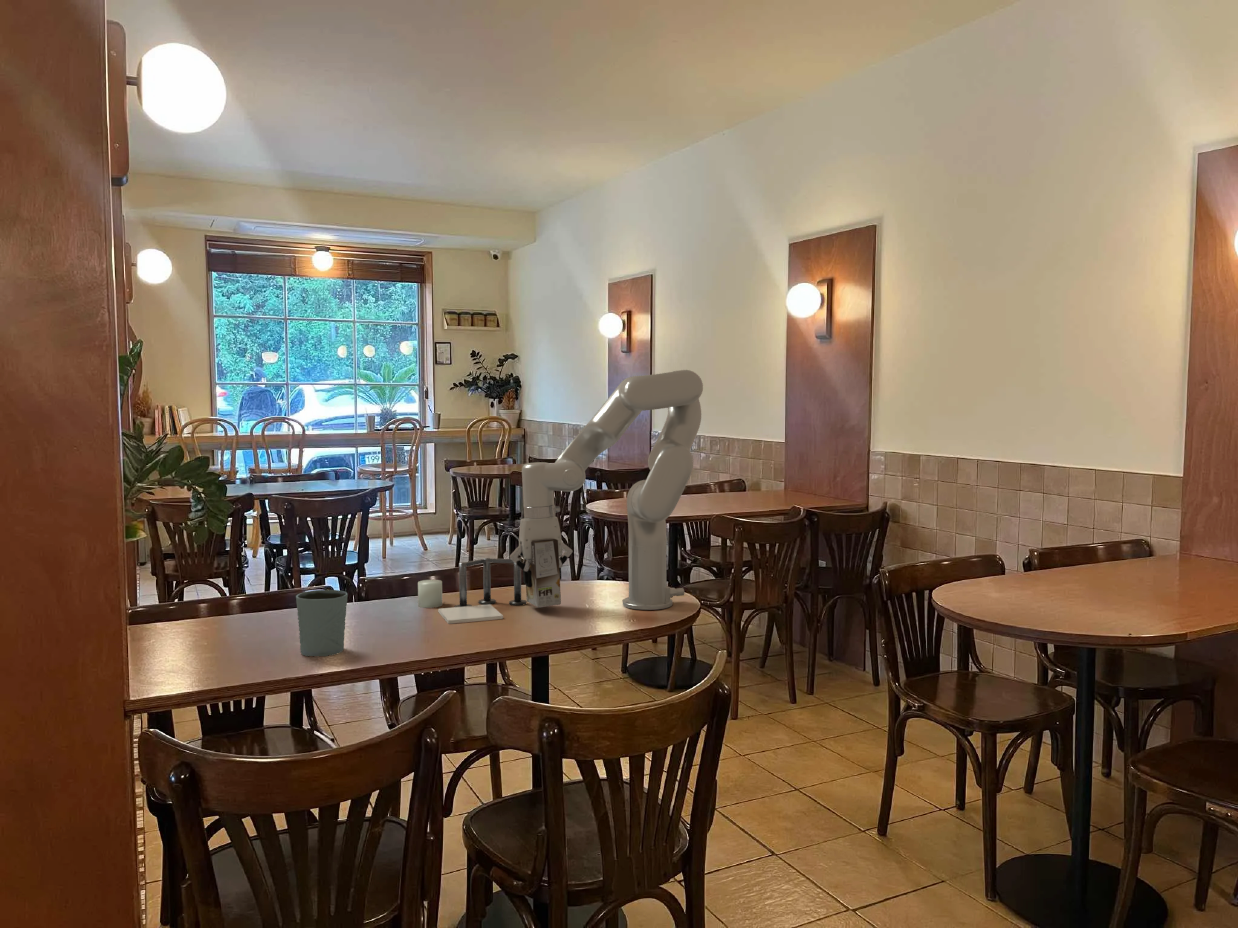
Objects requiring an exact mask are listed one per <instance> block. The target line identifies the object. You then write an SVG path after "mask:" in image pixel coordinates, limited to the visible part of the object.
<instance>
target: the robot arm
mask: <svg viewBox="0 0 1238 928" xmlns="http://www.w3.org/2000/svg"><path fill="white" fill-rule="evenodd" d="M703 390H704V383H703V381H702V378H701V377H700V376H699V374H697V373H696V372H695V371H692V370H690V369H689V370H688V369H681V370H672V371H669V372H662V373H655V374H644V375H635V376H634V375H633V376H629V377H627V378H624V379H623V380H622V381H621V382H620V383H619V384H618V385H617V387H615V389H614V390H613V392H612V393H611V394H610V395H609V397H608V398H607V399H606V400H605V402H604V403H603V404H602V405H601V407H600V408H598V410H597V412H596V413H595V414H594V415H593V416H592V418H591V419H590V420H589V421H588V422H587V423H586V425H585V426H584V427H583V428H582V429H581V431H580V432H579V433H578V434H577V435H576V436H575V437H574V438H573V440H572V441H571V442H570V443H569V445H567V446H566V448H565V449H564V450H563V451H562V453H561V454H560V455H559V456H558V458H557V459H555V462H554V463H549V462H545V461H544V462H543V461H541V462H540V461H537V462H536V461H535V462H529V463H524V465H523V466H522V467H521V477H522V478H521V481H522V498H523V499H522V501H523V518H521V519H520V523H519V534H518V535H519V536H518V546H517V547H516V548H515V549H514V551H512V552H511V554H510V555H509V559H511V560H512V561H513V562H515V563H516V564H517V565H518V566H519V567H520V568H521V571H522V578H523V579H522V581H523V584H524V585H525V587H526V586H527V587H532V583H531V571H529V567H530V565H531V559H532V549H531V542H532V541H539V540H550V539H556V540H558V550H559V571H560V581H561V580H562V567H563V565H564V564H565V563H566V562H567V561H568V559H569V557H570V556H571V554H572V553H573V549H571V547H569V546H568V545H567V544H565V543H564V542H563V540H562V539H563V538H562V534H561V526H560V522H559V519H558V516H556V513H559V512H561V507H560V506H557V505H556V504H555V495H554V493H555V492H556V491H557V492H570V493H571V492H575V491H577V490H579V489H580V488H582V487H583V485H584V484H585V482H586V475H587V474H586V470H587V469H588V468H589V466H590V465H591V464H592V463H593V462H594V461H595V459H597V457H599V456H600V454H602V453H603V452H605V451H606V450H607V449H610V448H611V447H613V446H614V445H615V444H616V443H617V442H618V441H619V440H620V439H621V438H622V436H623V435H624V434H625V433H626V431H627V430H628V429H629V427H630V426H631V425H632V423H634V421H635V420H636V419H637V418H638V417H639V416H640V414H641V413H642V412H643V411H651V410H653V411H655V410H661V409H667V417H666V419H665V422H664V424H663V427H662V429H661V431H660V433H659V434H658V435H659V436H658V437H657V439H656V441H655V443H654V445H653V446H652V449H651V450H650V452H649V455H648V460H647V465H648V469H649V470H650V471H649V473H648V474H647V477H646V479H643V480H639V481H636V482H635V483H634V484H633V485H632V486H631V487H630V489H628V492H627V496H626V514H627V524H628V525H627V526H628V529H627V530H628V597H625V598H624V599H622V606H623V607H625V608H627V609H632V610H642V611H651V610H652V611H653V610H663V609H668V608H670V607H672V606H673V603H674V602H673V599H672V598H673V597H675V596H676V597H680V596H681V597H684V595H685V590H684V589H685V588H684V587H679V588H678V587H677V588H675V587H670V586H668V585H667V523H666V522H667V521H666V520H667V519H668V518H669V517H670V516H671V515H672V514H673V512H674V511H675V508H676V507H677V505H678V503H679V501H680V499H681V497H682V494H683V493H684V491H685V488H686V487H687V484H688V482H689V480H690V477H691V475H692V473H693V471H694V470H693V469H694V457H693V454H692V452H691V448H692V446H693V444H694V441H695V439H696V437H697V435H698V432H699V429H700V425H701V422H702V406H701V402H700V398H701V396H702V394H703ZM554 491H555V492H554ZM563 551H564V552H563ZM519 557H521V558H523V561H522V560H521V561H520V560H519V559H520V558H519Z"/></svg>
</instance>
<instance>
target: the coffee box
mask: <svg viewBox="0 0 1238 928" xmlns="http://www.w3.org/2000/svg"><path fill="white" fill-rule="evenodd" d="M531 549H532V559H531V565H530V567H529V571H531V583H532V587H527V586H526V585H525V590H526V591H525V592H526V601H527V602H528V603H529V604H531V605H533V606H535V607H537V608H544V607H551V606H552V607H553V606H558V605H559V606H560V605H561V604H562V600H561V599H562V597H561V594H562V592H561V580H560V571H559V558H560V556H559V550H558V540H556V539H550V540H539V541H532V542H531Z"/></svg>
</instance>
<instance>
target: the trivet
mask: <svg viewBox="0 0 1238 928" xmlns="http://www.w3.org/2000/svg"><path fill="white" fill-rule="evenodd" d="M437 611H438V613H439V615H440V616H441V617H442V618H443V619H444V620H445V622H446V623H447V624H448V625H451V624H462V623H471V622H472V623H473V622H484V621H485V622H486V621H494V620H503V619H504V615H503V614H502V613H501V612H500V611H499V610H498V609H496V608H495V606H493V604H491V605H490V604H489V605H481V604H479V605H472V606H465V607H445V608H443V607H442V608H438V610H437Z"/></svg>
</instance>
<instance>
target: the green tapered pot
mask: <svg viewBox="0 0 1238 928" xmlns="http://www.w3.org/2000/svg"><path fill="white" fill-rule="evenodd" d="M348 595H349V594H348V592H347V591H344V590H338V589H321V590H320V589H319V590H318V589H317V590H310V591H305V592H300V593H298V594H296V595H295V599H296V600H295V603H296V610H297V620H298V631H299V633H298V634H299V637H298V639H299V644H300V645H299V650H300V653H301V655H302V656H304V655H305V656H304V657H308V656H324V657H329V656H328V655H331V656H334V654H335V655H338V654H340V653H342V652H343V651H344V649H345V630H346V619H347V618H346V616H347V606H348ZM337 653H338V654H337Z"/></svg>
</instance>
